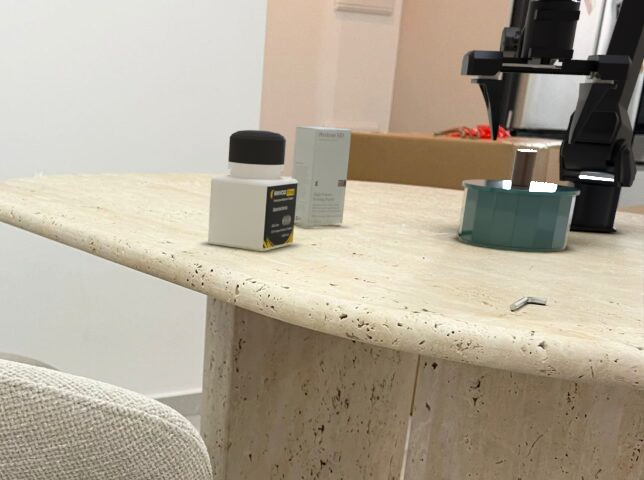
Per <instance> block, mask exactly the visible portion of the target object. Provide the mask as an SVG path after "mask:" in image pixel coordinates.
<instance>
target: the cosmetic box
mask: <svg viewBox="0 0 644 480" xmlns="http://www.w3.org/2000/svg"><path fill="white" fill-rule="evenodd" d="M351 141H352V129H350V128H339V127H327V126H308V125H307V126H305V125H304V126H302V125H297V126H296V127H295V136H294V146H293V159H292V171H291V178H292V179H296V180H297V182H298V186H297V198H296V209H295V221H294V226H296V227H300V228H307V229H308V228H335V227H336V228H337V227H339V228H340V227H341V225H339V224H343V220H344V210H345V209H344V208H345V199H346V191H347V181H348V170H349V168H348V167H349V159H350V158H349V157H350V149H351Z"/></svg>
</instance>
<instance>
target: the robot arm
mask: <svg viewBox="0 0 644 480" xmlns="http://www.w3.org/2000/svg"><path fill="white" fill-rule="evenodd" d="M581 1H582V0H529V2H528V7H527V13H526V17H525V21H524V25H523V28H522V29H520V27H517V26H516V27H515V26H508V27H507V26H504V27H503V29H502V31H501V37H500V42H499V50H479V49H474V50H473V49H472V50H469V51H467V52H466V53H465V54H464V55H463V57H462V61H461V68H460V76H472V77H473V78H470V84H474V85H475V84H476V85H478V87H479V89H480V92H481V95H482V98H483V100H484V103H485V108H486V114H487V120H488V125H489V130H490V137H491V140H492V141H495V142H496V141H497V140H498V135H499V131H500V124H501V123H500V121H501V120H500V119H501V111H502V110H501V107H502V96H503V95H502V93H503V85H504V83H503V82H504V80H503V79H499V76H500V74H501V73H506V74H507V73H508V74H529V75H530V74H532V75H533V74H534V75H557V76H560V75H561V76H585V79H584V80H585V81H584V82H580V83H579V84H578V85H579V86H578V98H577V102H576V106H575V109H574V110H573V112H572V113H571V114H570V116H569V120H568V125H567V128H566V131H565V134H564V136H563V138H562V140H561V143H560V145H559V146H560V147H559V152H558V153H559V154H558V155H559V162H558V163H559V164H558V165H559V166H558V167H559V168H558V172H559V173H558V181H559V182H568V186H569V187H574V188H578V189H580V190H581V191H580V194H579V195H576V198H575V204H574V209H573V214H572V220H571V225H570V230H573V231H589V232H602V233H603V232H605V233H606V232H607V233H617V231H618V229H617V228H616V227H614V225H615V220H616V216H617V211H618V206H619V201H620V195H621V192H622V191H621V190H622V188H631V187H632V186H633V184H634V181H635V179H636V175H637V174H638V173H637V172H638V170H637V165H636V160H635V155H634V151H633V146H632V140H633V137H634V130H633V126H632V122H631V120H630V116H629V107H630V104H631V100H632V98H633V95H634V91H635V87H636V85H637V82H638V79H639V76H640V73H641V70H642V66H643V63H644V0H622V1H621V3H620V8H619V11H618V14H617V17H616V21H615V24H614V27H613V30H612V34H611V35H610V36H611V37H610V39H609V42H608V46H607V49H606V51H605V54H591V55H590V54H589V55H588V56H587V58H586V59H573V58H574V54H575V53H574V52H575V51H574V50H575V49H574V45H575V39H576V38H575V37H576V31H577V26H578V21H580V16H581V10H580V9H581ZM557 61H558V63H561V65H557V64H556V62H557ZM581 173H585V174H586V173H587V174H595V175H603V176H613V178H607V177H597V176H590V175H589V176H588V175H581Z"/></svg>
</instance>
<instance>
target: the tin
mask: <svg viewBox="0 0 644 480" xmlns="http://www.w3.org/2000/svg"><path fill="white" fill-rule="evenodd" d="M463 189H464V190H463V197H462V202H461V211H460V218H459V223H458V232H457V236H458V238H457V240H458V241H460V242H462V243H465V244H467V245H471V246H475V247H481V248H487V249H495V250H501V251H502V250H504V251H511V252H513V251H514V252H528V253H529V252H530V253H531V252H532V253H552V252H561V251H564V250H565V249H566V246H567V245H568V241H569V235H570V230H571V229H570V225H571V220H572V214H573V209H574V204H575V198H576V196H538V195H522V194H510V193H499V192H490V191H483V190H476V189H471V188H466V187H464V188H463Z"/></svg>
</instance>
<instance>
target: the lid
mask: <svg viewBox="0 0 644 480" xmlns="http://www.w3.org/2000/svg"><path fill="white" fill-rule="evenodd" d="M514 152H515V153H514V159H513V166H512V171H511V177H510V178H511V179H510V180H509V179H508V180H507V179H464V180H462V182H461V186H462V187H464V188H465V187H466V188H471V189H476V190H483V191H490V192H499V193H510V194H522V195H538V196H576V195H579V194H580V191H581V190H580V189H578V188H574V187H569V185H563V184H562V185H561V184H554V183H547V182H545V183H544V182H537V181H536V182H535V181H533V177H534V172H535V171H534V170H535V166H536V158H537V154H538V151H537V150H533V149H531V150H530V149H515V151H514Z"/></svg>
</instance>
